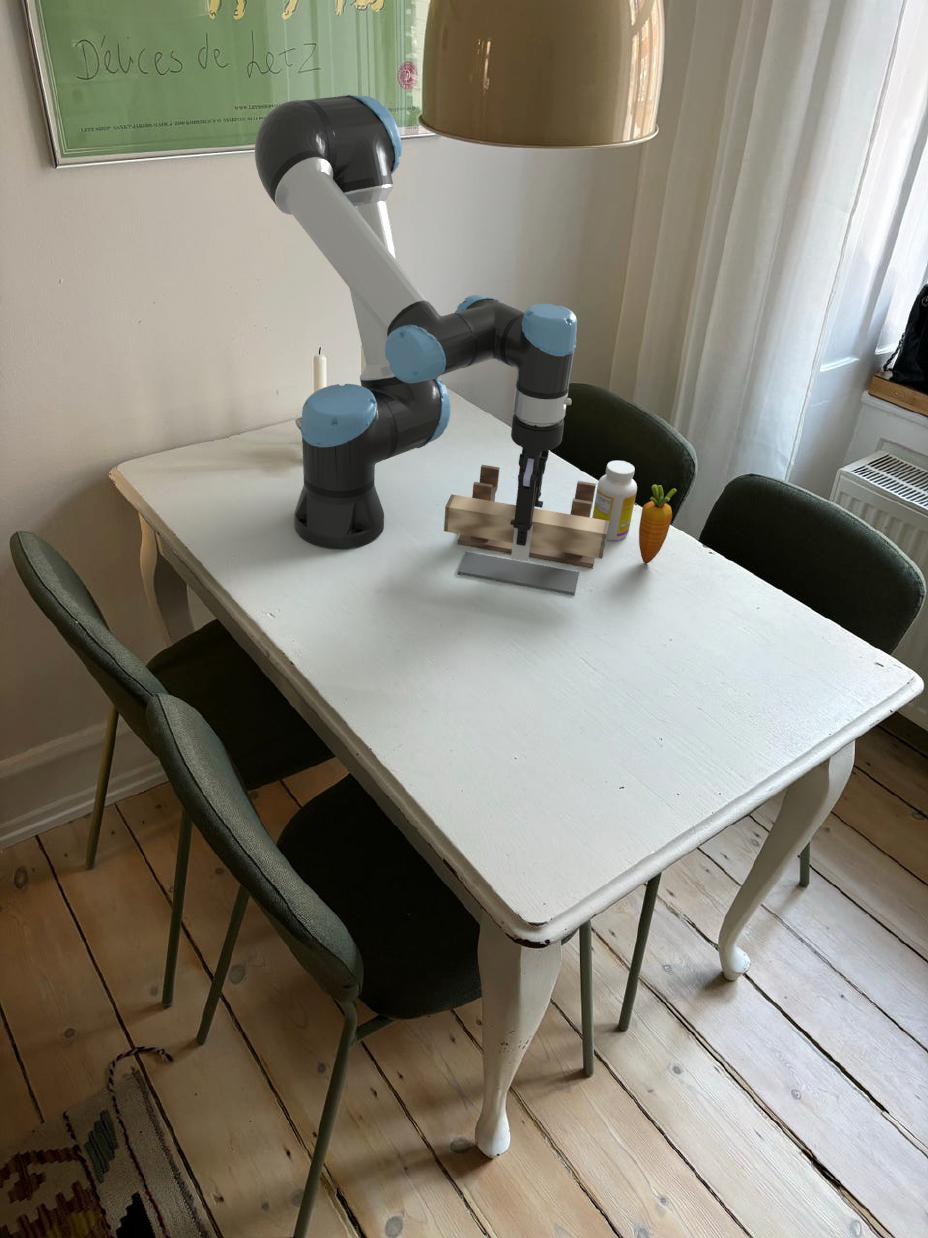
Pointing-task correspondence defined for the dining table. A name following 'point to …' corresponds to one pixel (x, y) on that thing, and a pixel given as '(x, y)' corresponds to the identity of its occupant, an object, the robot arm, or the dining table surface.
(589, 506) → the rack
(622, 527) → the supplement bottle
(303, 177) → the robot arm
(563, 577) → the mat
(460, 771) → the dining table surface
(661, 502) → the carrot
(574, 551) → the rail
